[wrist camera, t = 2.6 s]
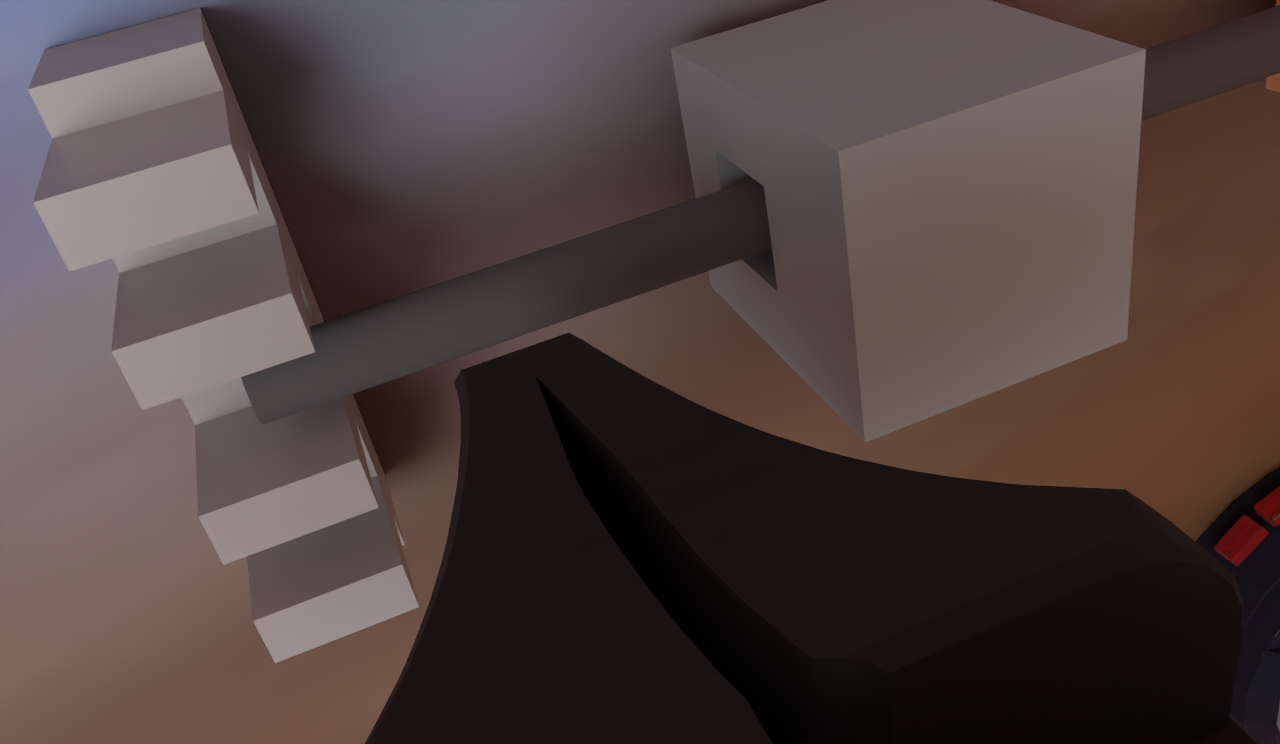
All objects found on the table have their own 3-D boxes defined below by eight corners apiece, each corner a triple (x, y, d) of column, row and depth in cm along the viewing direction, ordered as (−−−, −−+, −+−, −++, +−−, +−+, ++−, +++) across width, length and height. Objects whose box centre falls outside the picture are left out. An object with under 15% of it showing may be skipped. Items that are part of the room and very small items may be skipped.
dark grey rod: (287, 428, 17) (312, 576, 14) (192, 212, 15) (195, 329, 12) (1395, 42, 21) (1597, 92, 18) (1434, -166, 19) (1667, -150, 16)
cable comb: (269, 517, 19) (290, 693, 15) (44, 49, 14) (4, 146, 11) (384, 475, 19) (431, 637, 16) (200, 8, 15) (207, 89, 11)
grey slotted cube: (710, 286, 18) (864, 442, 14) (670, 47, 16) (838, 150, 12) (923, 211, 19) (1127, 340, 15) (911, -25, 17) (1145, 49, 13)
